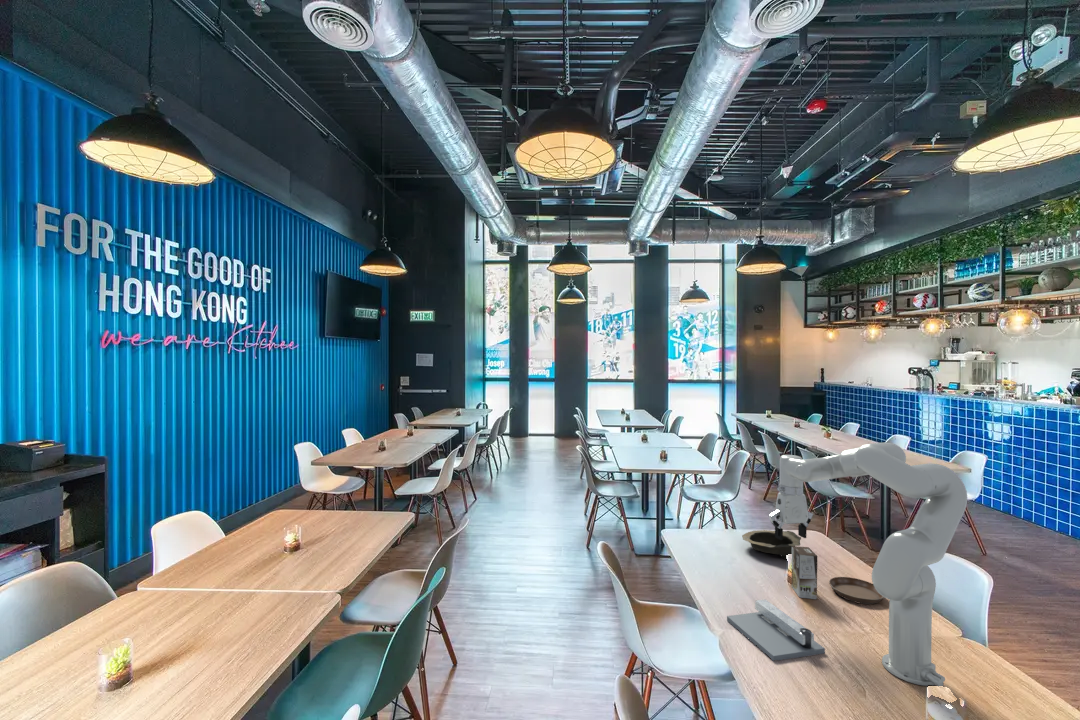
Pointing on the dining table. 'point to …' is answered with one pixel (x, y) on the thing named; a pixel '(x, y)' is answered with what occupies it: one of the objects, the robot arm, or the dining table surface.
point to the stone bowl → (772, 542)
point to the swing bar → (785, 623)
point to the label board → (771, 637)
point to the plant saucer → (855, 590)
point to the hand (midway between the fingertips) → (790, 537)
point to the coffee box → (804, 572)
